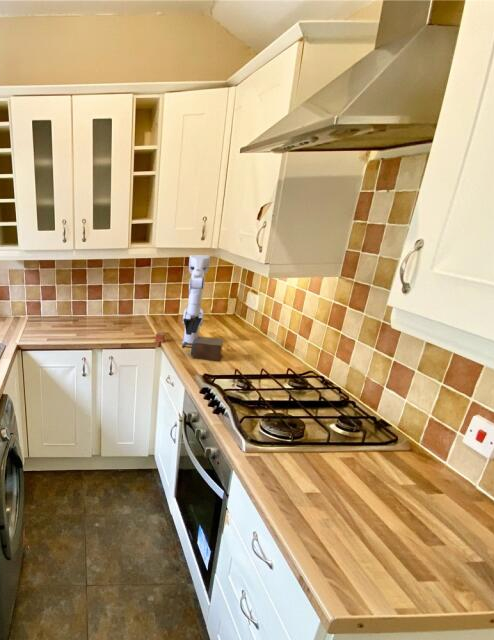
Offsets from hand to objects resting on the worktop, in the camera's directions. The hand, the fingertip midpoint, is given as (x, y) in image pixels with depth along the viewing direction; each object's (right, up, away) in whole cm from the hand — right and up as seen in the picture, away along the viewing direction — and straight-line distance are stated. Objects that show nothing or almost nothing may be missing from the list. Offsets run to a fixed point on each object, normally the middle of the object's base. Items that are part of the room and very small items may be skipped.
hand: (191, 333), depth 192 cm
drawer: (+4, -9, +3) cm, 10 cm away
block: (-10, -1, +23) cm, 25 cm away
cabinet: (+8, -10, +1) cm, 13 cm away
